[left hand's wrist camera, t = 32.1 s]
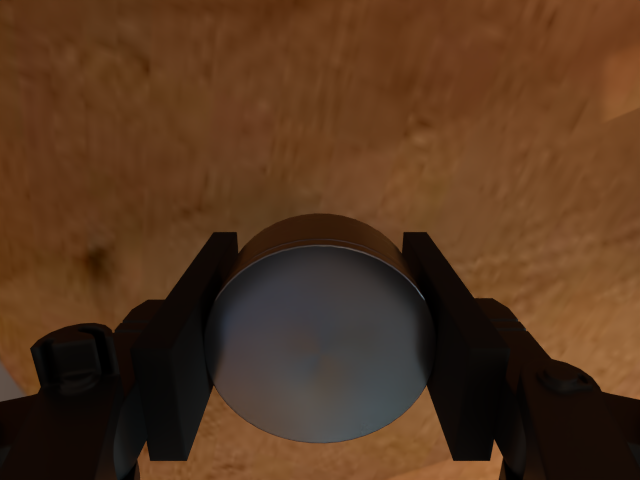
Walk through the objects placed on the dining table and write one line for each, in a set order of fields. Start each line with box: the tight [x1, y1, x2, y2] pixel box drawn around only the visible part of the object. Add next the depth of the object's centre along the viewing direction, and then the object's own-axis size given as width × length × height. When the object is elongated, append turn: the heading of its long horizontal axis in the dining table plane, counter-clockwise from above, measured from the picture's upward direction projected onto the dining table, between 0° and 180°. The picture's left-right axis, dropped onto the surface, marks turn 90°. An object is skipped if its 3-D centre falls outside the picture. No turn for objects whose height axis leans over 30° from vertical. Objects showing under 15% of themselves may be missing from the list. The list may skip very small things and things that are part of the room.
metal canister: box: [203, 214, 437, 443], centre depth 11 cm, size 6×6×2 cm
